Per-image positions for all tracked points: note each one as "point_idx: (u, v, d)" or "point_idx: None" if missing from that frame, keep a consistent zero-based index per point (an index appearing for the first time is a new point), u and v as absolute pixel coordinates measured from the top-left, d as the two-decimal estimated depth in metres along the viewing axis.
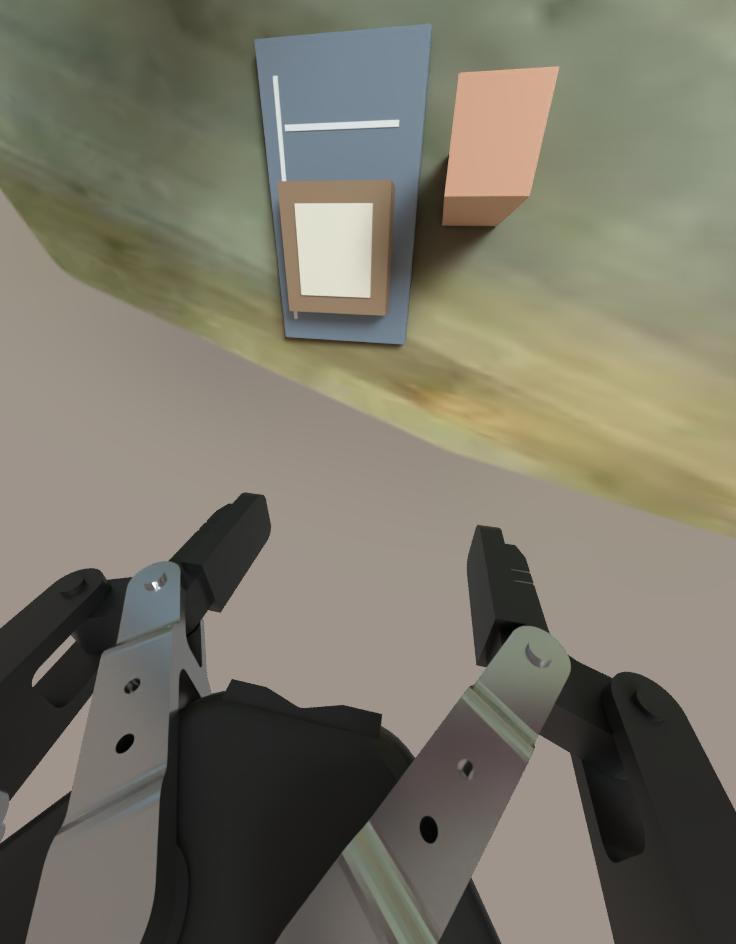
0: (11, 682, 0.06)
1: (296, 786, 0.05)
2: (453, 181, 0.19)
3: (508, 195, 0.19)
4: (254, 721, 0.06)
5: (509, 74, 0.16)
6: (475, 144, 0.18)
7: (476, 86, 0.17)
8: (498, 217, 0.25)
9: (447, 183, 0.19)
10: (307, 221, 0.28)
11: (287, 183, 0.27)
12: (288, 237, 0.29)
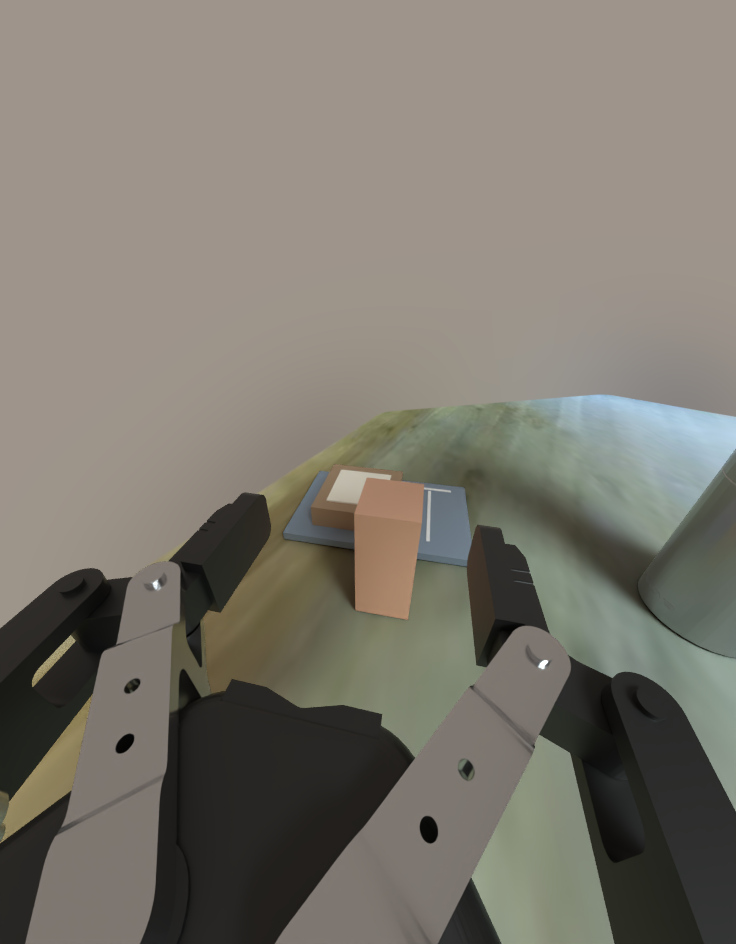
0: (11, 682, 0.06)
1: (295, 786, 0.05)
2: (373, 480, 0.27)
3: (358, 504, 0.24)
4: (254, 721, 0.06)
5: (420, 502, 0.24)
6: (390, 489, 0.26)
7: (417, 490, 0.26)
8: None
9: (373, 479, 0.27)
10: (380, 478, 0.41)
11: (401, 475, 0.42)
12: (374, 470, 0.43)
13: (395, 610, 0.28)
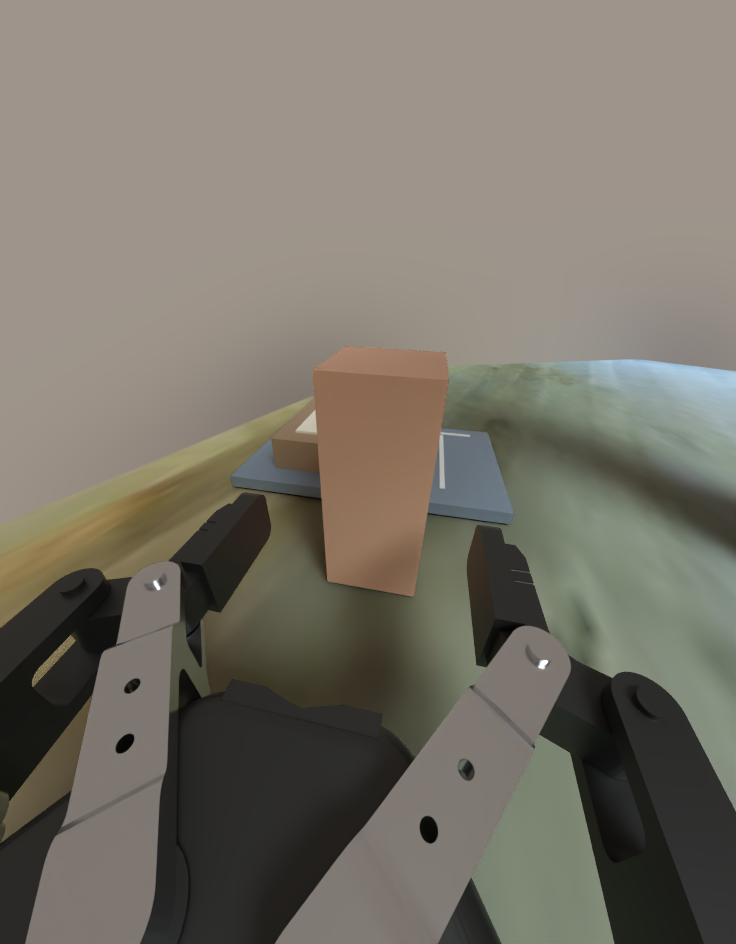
0: (11, 682, 0.06)
1: (295, 786, 0.05)
2: (357, 348, 0.15)
3: (323, 363, 0.13)
4: (254, 721, 0.06)
5: (443, 364, 0.13)
6: (385, 354, 0.14)
7: (434, 355, 0.14)
8: None
9: (356, 347, 0.16)
10: None
11: None
12: None
13: (393, 580, 0.17)
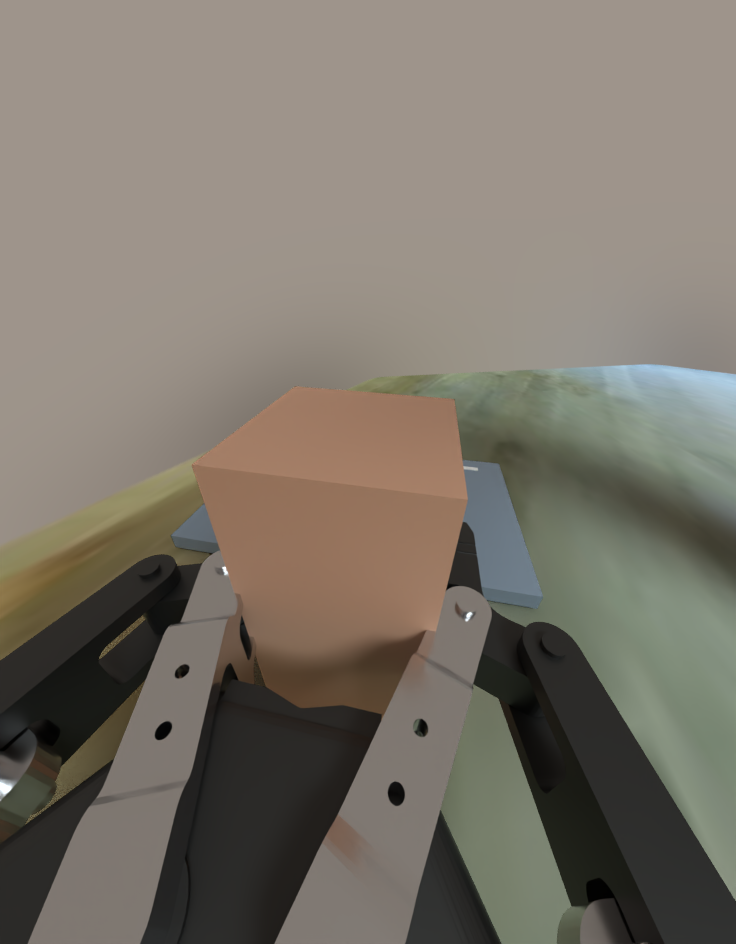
0: (82, 656, 0.07)
1: (295, 787, 0.05)
2: (311, 392, 0.09)
3: (229, 438, 0.07)
4: (254, 721, 0.06)
5: (451, 435, 0.07)
6: (353, 408, 0.08)
7: (436, 409, 0.08)
8: None
9: (312, 389, 0.10)
10: None
11: None
12: None
13: None
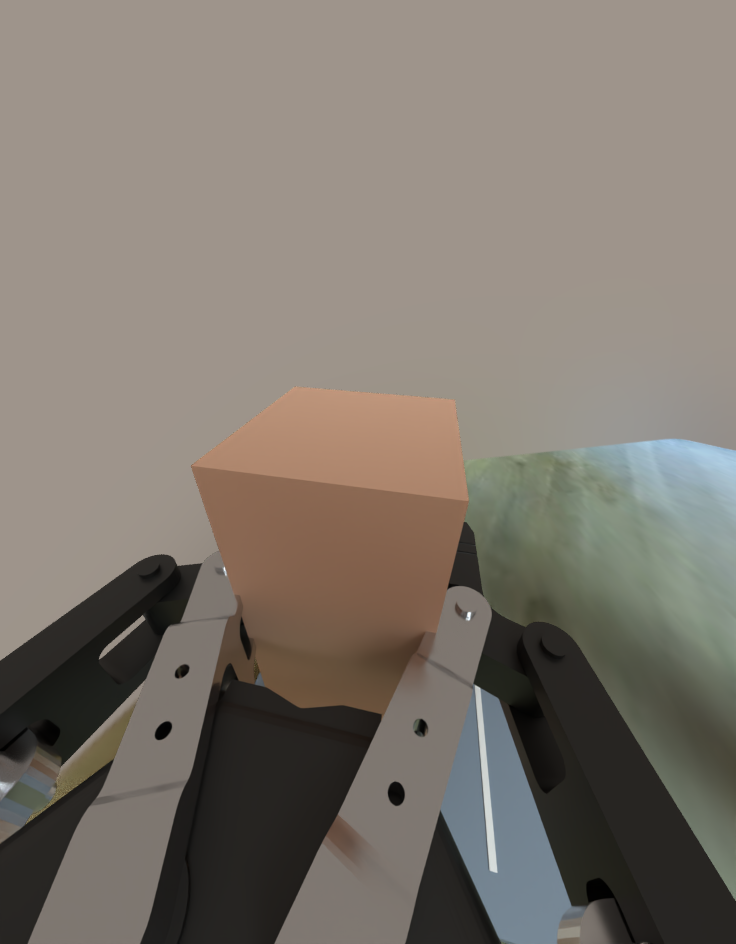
0: (81, 656, 0.07)
1: (295, 786, 0.05)
2: (311, 392, 0.09)
3: (229, 438, 0.07)
4: (254, 721, 0.06)
5: (452, 436, 0.07)
6: (353, 408, 0.08)
7: (437, 410, 0.08)
8: None
9: (312, 389, 0.10)
10: None
11: None
12: None
13: None
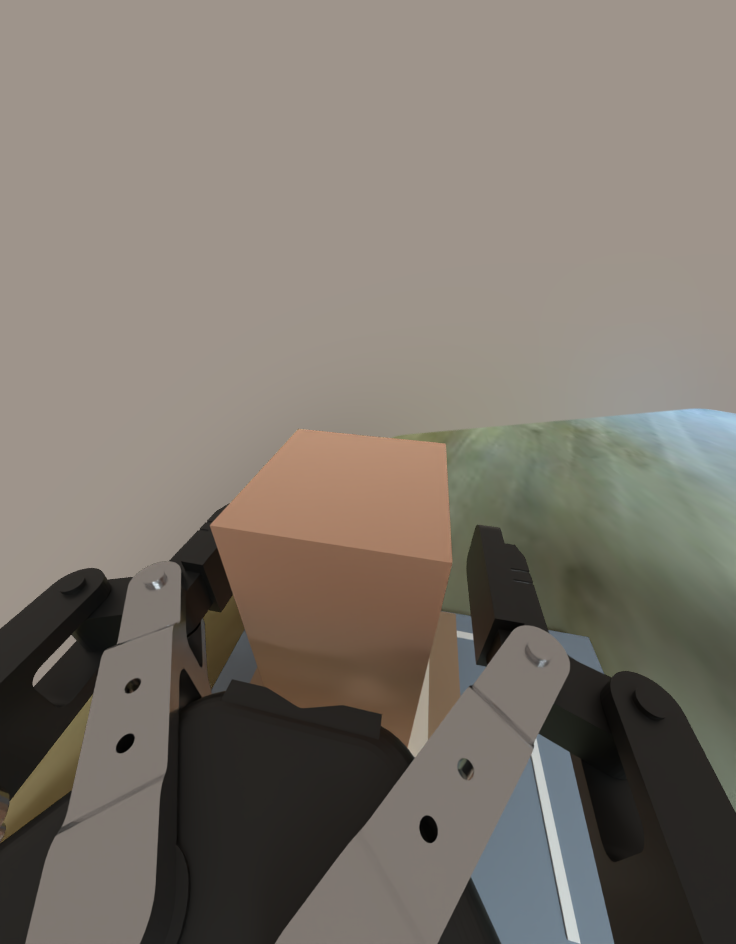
0: (12, 682, 0.06)
1: (295, 787, 0.05)
2: (313, 436, 0.10)
3: (241, 493, 0.08)
4: (254, 721, 0.06)
5: (441, 488, 0.08)
6: (352, 455, 0.09)
7: (428, 457, 0.09)
8: None
9: (314, 432, 0.10)
10: None
11: (453, 628, 0.17)
12: None
13: None
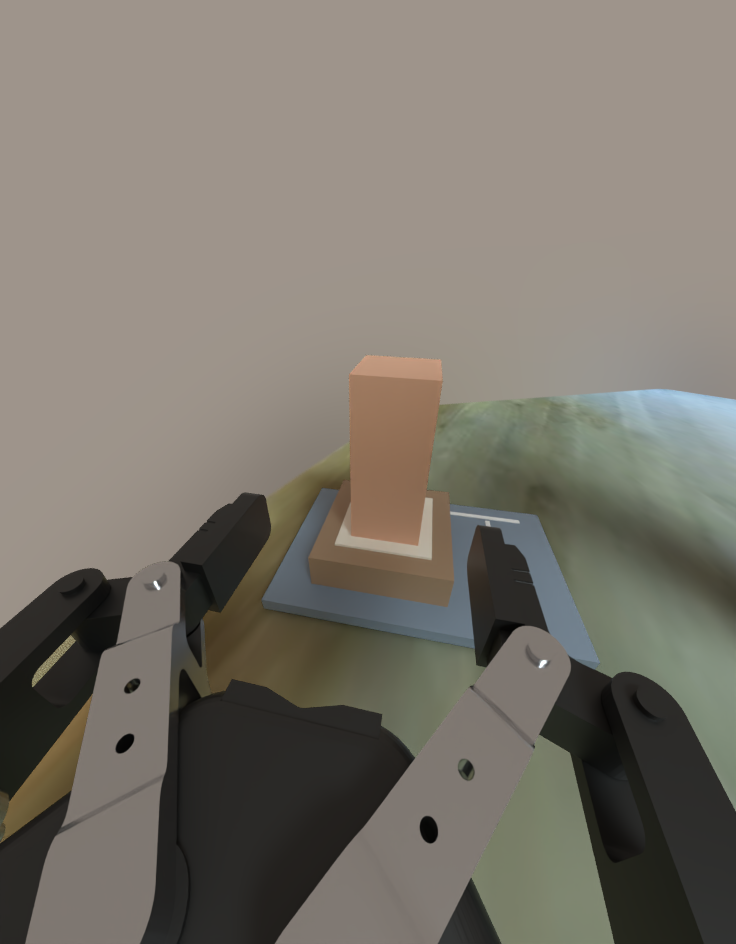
0: (11, 682, 0.06)
1: (295, 786, 0.05)
2: (375, 357, 0.20)
3: (354, 369, 0.18)
4: (254, 721, 0.06)
5: (438, 369, 0.18)
6: (397, 361, 0.19)
7: (432, 362, 0.19)
8: None
9: (374, 356, 0.21)
10: None
11: (447, 498, 0.28)
12: None
13: (402, 532, 0.22)
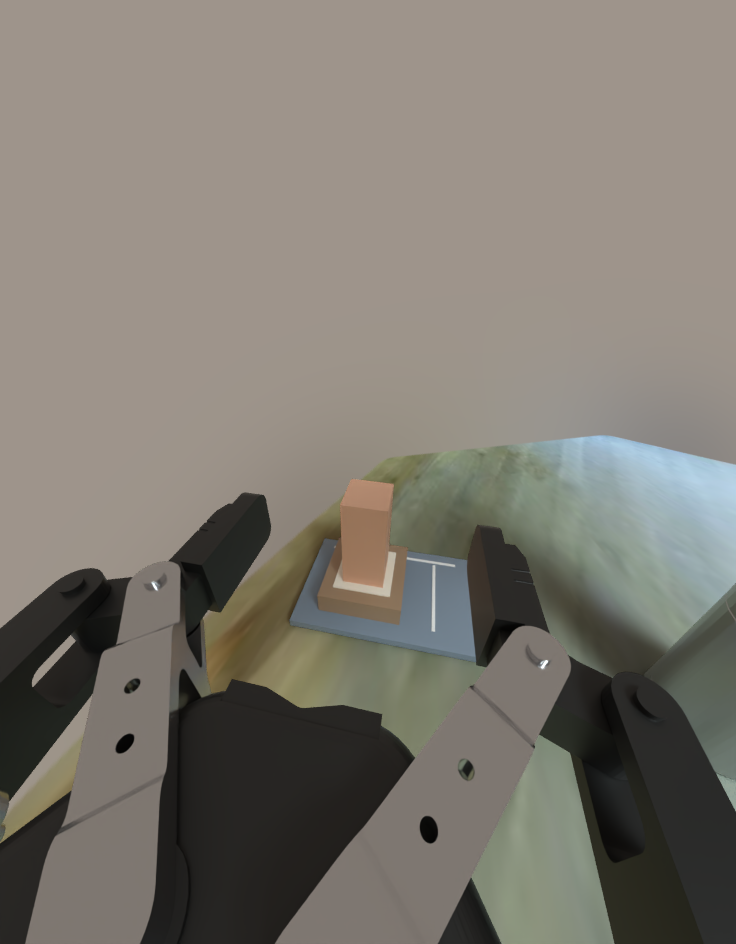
0: (11, 682, 0.06)
1: (295, 787, 0.05)
2: (356, 481, 0.36)
3: (343, 498, 0.33)
4: (254, 721, 0.06)
5: (389, 497, 0.33)
6: (368, 488, 0.35)
7: (388, 488, 0.35)
8: None
9: (356, 480, 0.36)
10: None
11: (406, 552, 0.43)
12: None
13: (373, 580, 0.37)
